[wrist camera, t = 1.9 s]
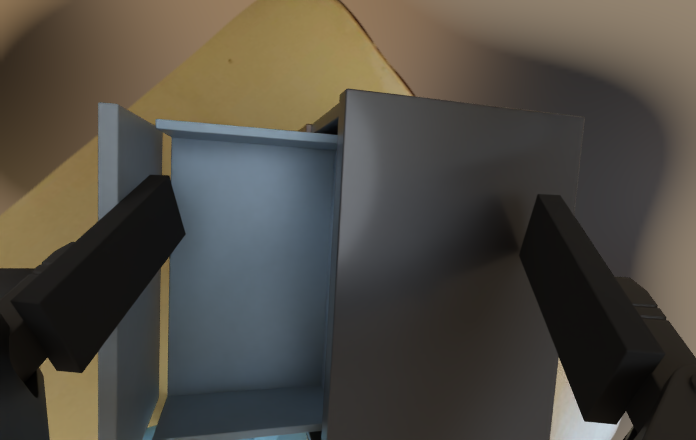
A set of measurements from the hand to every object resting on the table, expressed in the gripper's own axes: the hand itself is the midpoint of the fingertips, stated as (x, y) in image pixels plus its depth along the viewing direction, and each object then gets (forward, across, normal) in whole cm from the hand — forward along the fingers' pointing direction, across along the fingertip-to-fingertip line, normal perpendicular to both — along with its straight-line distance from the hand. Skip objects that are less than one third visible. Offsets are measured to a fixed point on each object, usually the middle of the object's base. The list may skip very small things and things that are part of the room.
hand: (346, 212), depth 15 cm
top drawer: (+2, -11, -5) cm, 12 cm away
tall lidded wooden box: (+25, -6, -18) cm, 32 cm away
